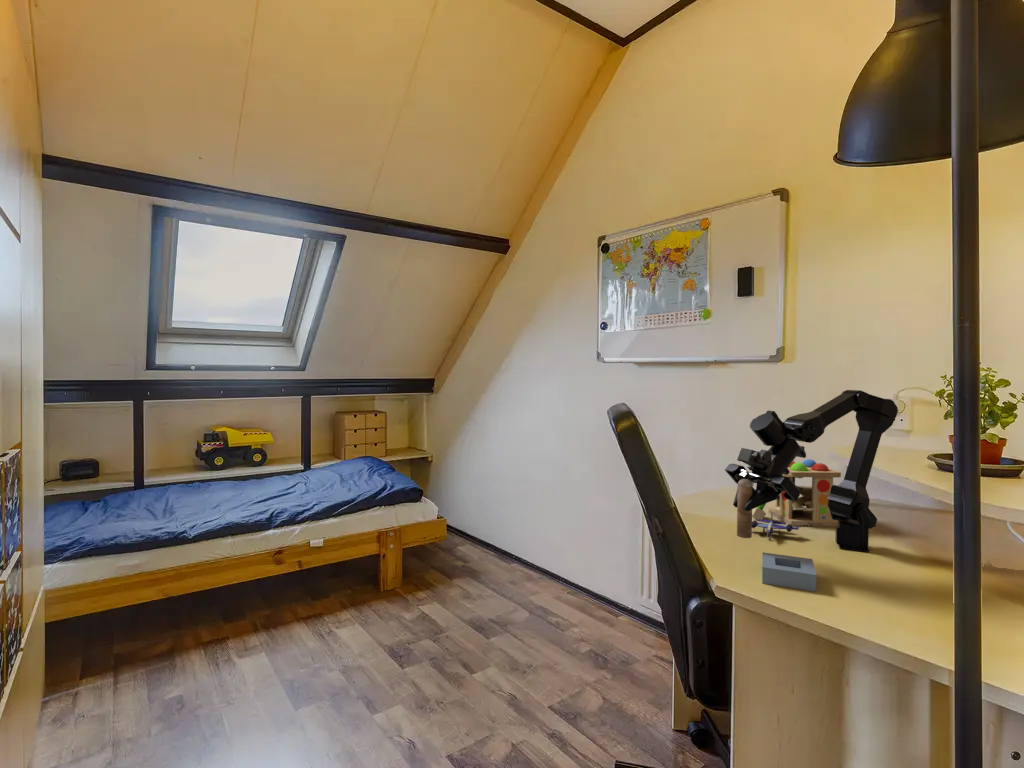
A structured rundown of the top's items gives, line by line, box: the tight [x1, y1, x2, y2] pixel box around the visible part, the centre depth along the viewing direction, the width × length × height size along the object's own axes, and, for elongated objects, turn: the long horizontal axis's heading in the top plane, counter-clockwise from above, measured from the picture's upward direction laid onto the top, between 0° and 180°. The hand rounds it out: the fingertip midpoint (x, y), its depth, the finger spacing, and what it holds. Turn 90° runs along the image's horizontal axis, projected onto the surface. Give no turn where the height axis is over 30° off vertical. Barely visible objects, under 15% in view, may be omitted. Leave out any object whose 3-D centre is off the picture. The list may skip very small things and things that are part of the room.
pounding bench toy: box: [752, 458, 842, 527], centre depth 161 cm, size 23×14×18 cm, turn 89°
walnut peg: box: [736, 479, 753, 539], centre depth 125 cm, size 3×3×14 cm
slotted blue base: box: [761, 552, 817, 593], centre depth 116 cm, size 10×10×4 cm
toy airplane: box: [752, 512, 800, 541], centre depth 145 cm, size 13×14×4 cm
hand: (739, 508), depth 125 cm, fingers closed on walnut peg, 3 cm apart
